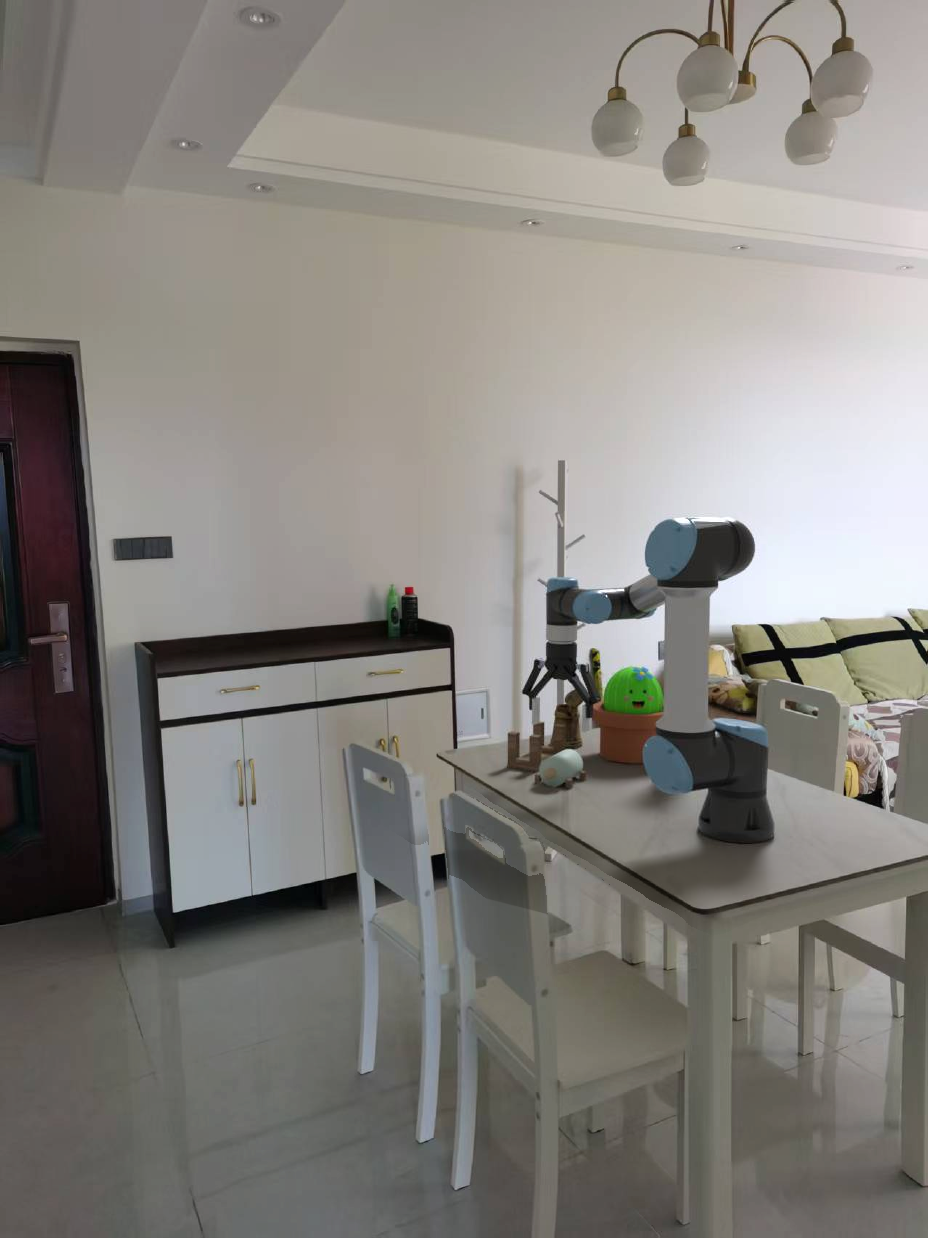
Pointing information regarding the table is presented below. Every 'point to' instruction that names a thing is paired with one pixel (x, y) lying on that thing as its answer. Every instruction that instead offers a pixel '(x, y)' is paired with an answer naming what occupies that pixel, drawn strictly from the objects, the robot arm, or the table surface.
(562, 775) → the paper roll
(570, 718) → the wooden mug
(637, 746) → the potted cactus
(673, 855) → the table surface
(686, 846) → the table surface
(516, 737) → the roll holder
